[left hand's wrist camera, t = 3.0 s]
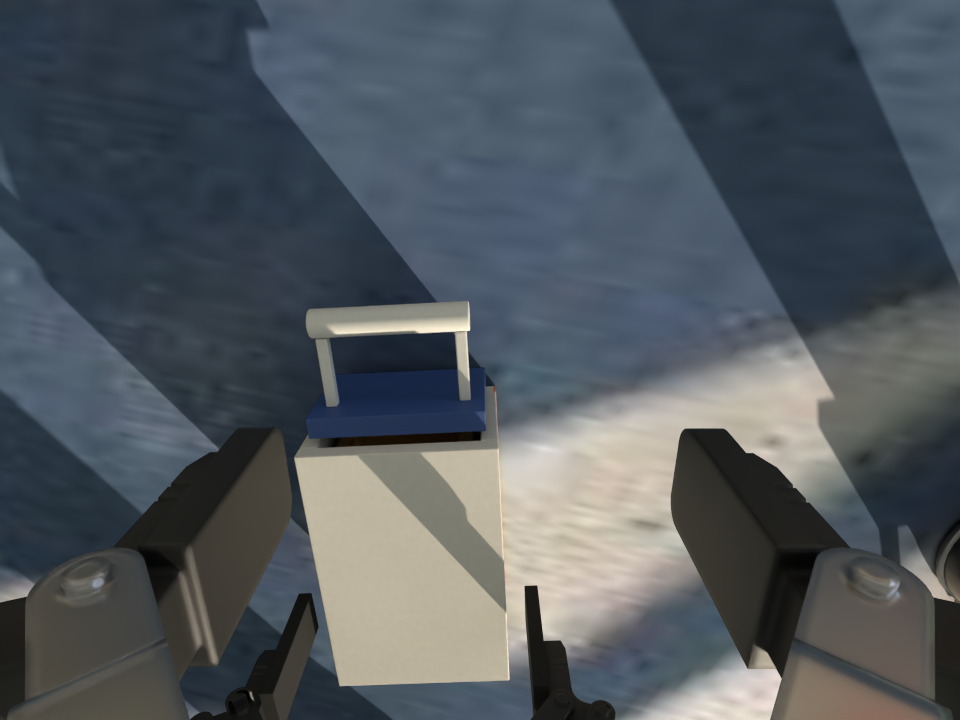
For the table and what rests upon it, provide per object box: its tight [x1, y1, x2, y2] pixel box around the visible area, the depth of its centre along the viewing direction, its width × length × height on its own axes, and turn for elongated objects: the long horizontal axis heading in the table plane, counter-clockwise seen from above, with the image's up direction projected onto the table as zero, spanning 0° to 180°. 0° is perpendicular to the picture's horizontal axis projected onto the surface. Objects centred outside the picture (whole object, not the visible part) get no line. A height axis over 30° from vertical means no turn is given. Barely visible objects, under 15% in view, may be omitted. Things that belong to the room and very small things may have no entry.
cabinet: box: [294, 386, 509, 686], centre depth 35 cm, size 16×11×8 cm, turn 3°
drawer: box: [306, 301, 486, 447], centre depth 34 cm, size 21×10×6 cm, turn 3°
